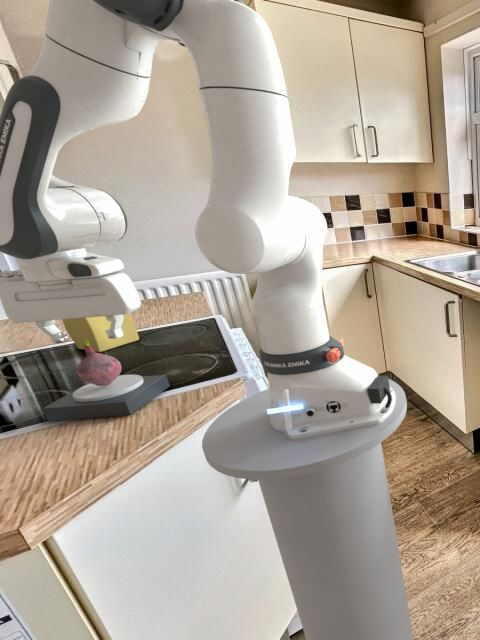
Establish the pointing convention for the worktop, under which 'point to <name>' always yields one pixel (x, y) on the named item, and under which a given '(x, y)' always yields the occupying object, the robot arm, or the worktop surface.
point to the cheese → (99, 332)
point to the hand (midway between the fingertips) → (89, 339)
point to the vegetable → (98, 367)
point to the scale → (107, 398)
